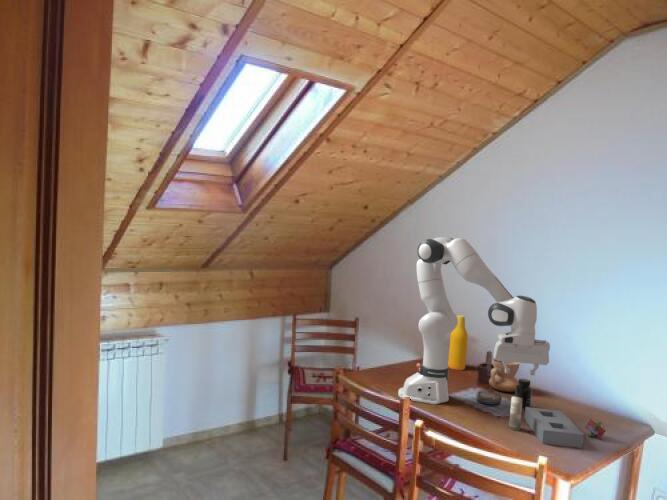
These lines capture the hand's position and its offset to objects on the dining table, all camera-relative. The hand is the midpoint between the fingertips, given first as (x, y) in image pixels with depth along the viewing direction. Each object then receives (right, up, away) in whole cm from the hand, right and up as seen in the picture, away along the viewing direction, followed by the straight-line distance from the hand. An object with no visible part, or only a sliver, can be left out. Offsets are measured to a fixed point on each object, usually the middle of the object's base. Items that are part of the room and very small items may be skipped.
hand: (519, 373), depth 195 cm
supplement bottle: (+11, -21, +27) cm, 36 cm away
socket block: (+12, -23, 0) cm, 26 cm away
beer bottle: (-4, -18, +84) cm, 86 cm away
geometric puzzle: (+28, -24, -2) cm, 37 cm away
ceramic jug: (+10, -20, +50) cm, 55 cm away
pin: (-2, -22, +1) cm, 22 cm away
